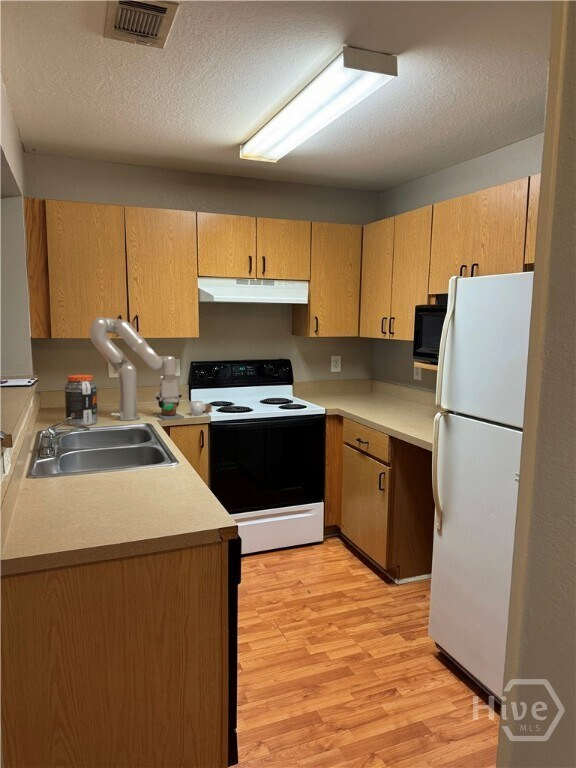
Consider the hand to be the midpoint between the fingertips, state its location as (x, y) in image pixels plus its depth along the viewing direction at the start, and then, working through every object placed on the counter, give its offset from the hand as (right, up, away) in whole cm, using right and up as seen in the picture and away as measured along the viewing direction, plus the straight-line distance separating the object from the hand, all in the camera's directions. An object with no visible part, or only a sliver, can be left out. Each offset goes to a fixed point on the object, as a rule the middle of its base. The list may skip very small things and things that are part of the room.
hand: (168, 406), depth 297 cm
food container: (-1, -5, -1) cm, 5 cm away
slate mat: (0, -6, +1) cm, 6 cm away
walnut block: (+19, -4, +16) cm, 25 cm away
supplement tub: (-41, -8, -22) cm, 47 cm away
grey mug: (+15, -5, +7) cm, 17 cm away
